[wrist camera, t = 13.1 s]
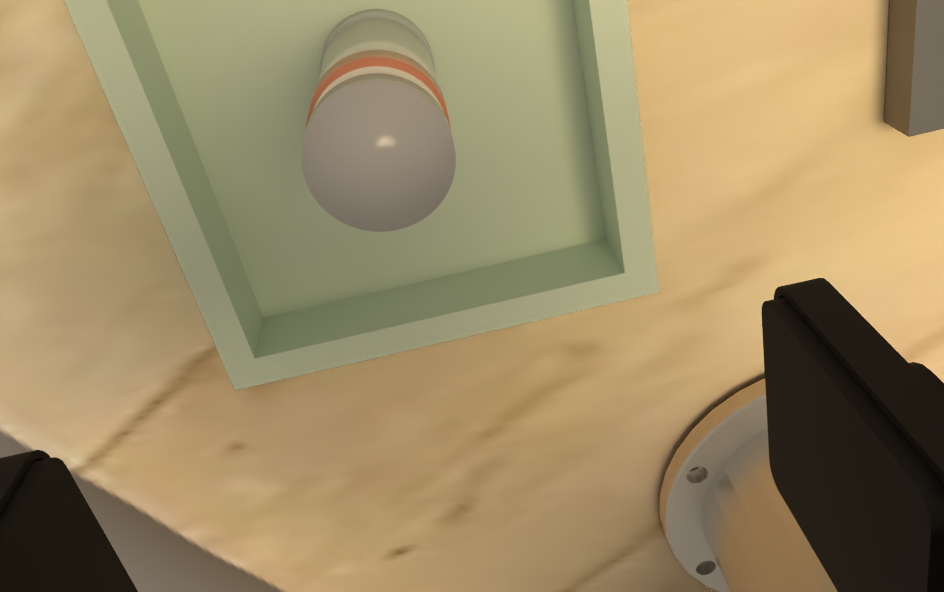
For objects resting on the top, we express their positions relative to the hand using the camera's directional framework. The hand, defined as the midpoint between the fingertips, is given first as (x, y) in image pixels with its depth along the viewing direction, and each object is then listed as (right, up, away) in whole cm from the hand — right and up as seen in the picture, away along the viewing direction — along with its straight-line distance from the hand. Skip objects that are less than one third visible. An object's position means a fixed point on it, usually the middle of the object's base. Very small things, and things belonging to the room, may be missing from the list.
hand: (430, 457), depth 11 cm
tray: (-2, +9, +15) cm, 17 cm away
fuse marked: (-2, +9, +14) cm, 17 cm away
